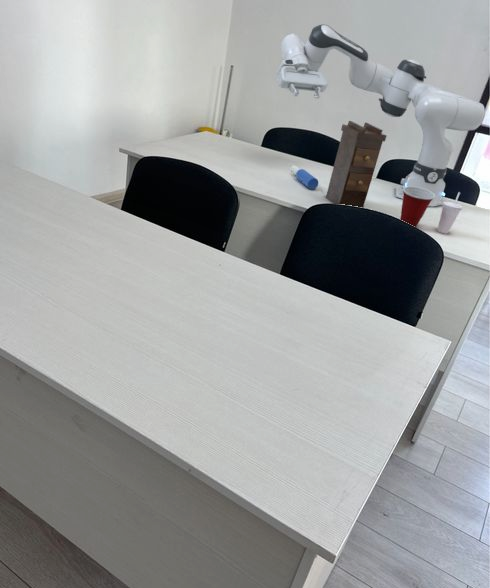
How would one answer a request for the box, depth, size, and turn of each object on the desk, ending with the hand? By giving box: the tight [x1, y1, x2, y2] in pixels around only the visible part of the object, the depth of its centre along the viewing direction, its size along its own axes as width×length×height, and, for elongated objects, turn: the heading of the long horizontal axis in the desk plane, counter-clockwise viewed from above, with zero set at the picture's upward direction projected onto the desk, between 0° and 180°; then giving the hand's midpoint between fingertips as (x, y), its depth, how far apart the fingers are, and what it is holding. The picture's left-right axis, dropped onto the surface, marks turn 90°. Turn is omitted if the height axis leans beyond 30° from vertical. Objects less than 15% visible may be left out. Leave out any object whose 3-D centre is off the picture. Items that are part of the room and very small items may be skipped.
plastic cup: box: [399, 186, 435, 228], centre depth 199 cm, size 11×11×12 cm
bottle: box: [289, 164, 319, 191], centre depth 230 cm, size 20×4×4 cm
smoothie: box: [436, 191, 463, 235], centre depth 198 cm, size 6×6×14 cm
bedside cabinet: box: [325, 120, 388, 208], centre depth 206 cm, size 14×11×28 cm
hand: (307, 96), depth 225 cm, fingers open, 8 cm apart
